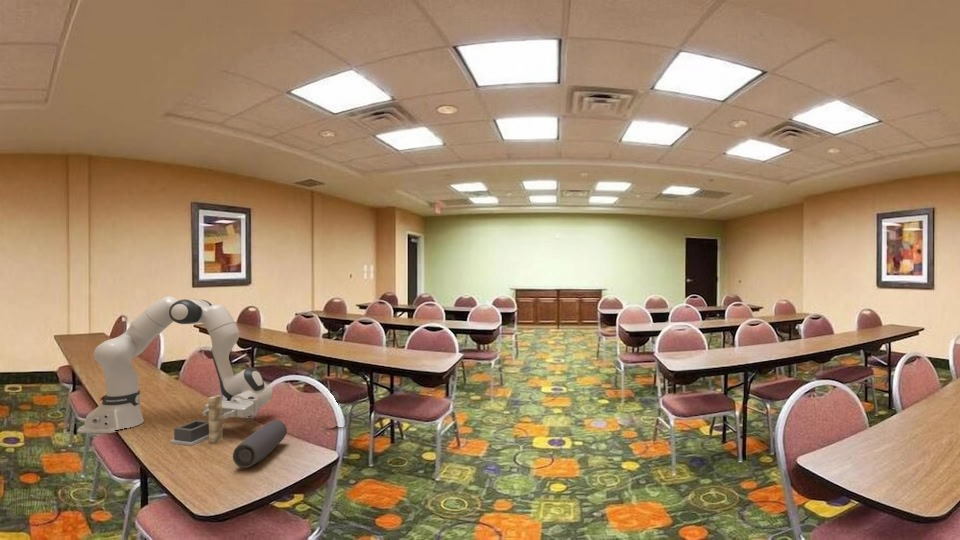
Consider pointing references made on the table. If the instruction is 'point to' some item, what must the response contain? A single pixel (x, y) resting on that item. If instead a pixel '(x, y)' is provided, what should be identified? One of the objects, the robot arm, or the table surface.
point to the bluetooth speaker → (259, 444)
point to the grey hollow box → (191, 433)
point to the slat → (215, 419)
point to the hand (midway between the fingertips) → (213, 415)
